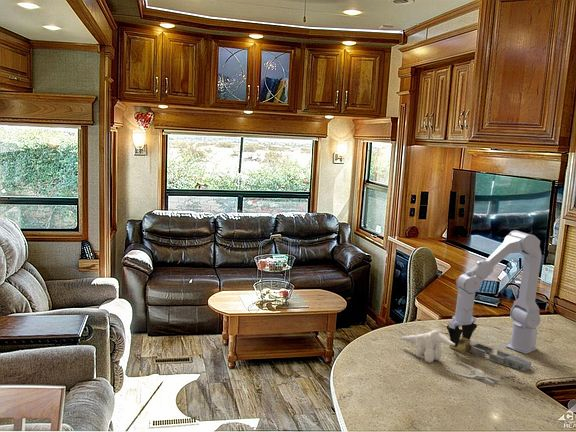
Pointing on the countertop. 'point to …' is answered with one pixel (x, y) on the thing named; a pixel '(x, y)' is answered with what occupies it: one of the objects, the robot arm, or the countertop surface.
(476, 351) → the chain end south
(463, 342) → the brushed brass bar
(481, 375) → the pliers
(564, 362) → the countertop surface
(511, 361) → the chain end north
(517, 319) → the robot arm
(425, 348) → the dinosaur statue
